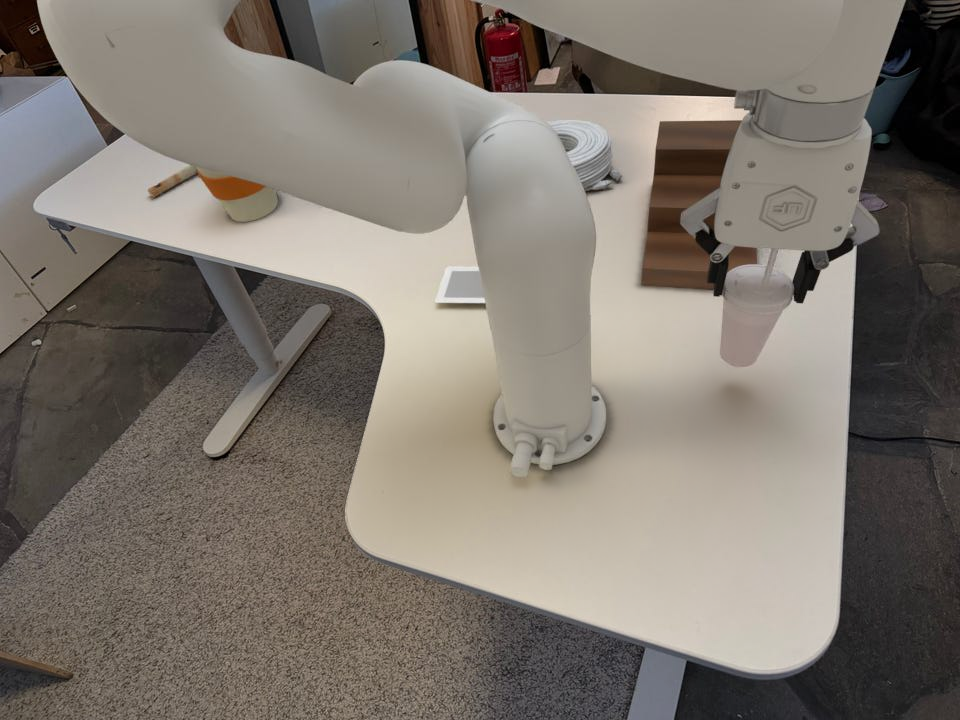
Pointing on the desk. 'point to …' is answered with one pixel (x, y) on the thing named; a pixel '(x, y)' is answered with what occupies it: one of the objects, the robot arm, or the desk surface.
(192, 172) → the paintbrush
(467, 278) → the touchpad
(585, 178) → the cable
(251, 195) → the reusable coffee cup
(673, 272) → the tier shelf
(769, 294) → the smoothie
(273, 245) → the desk surface
